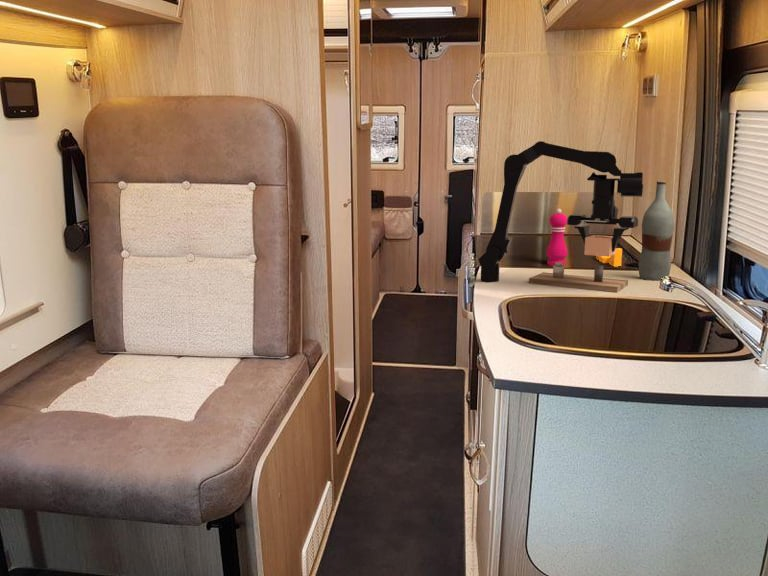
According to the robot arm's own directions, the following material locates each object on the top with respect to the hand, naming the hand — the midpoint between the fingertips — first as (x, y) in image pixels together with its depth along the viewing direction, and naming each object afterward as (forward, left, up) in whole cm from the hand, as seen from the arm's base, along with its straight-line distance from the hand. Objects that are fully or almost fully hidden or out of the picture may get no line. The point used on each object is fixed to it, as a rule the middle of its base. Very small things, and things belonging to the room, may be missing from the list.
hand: (600, 250), depth 181 cm
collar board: (0, +6, -11) cm, 12 cm away
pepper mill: (+30, +23, -11) cm, 39 cm away
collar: (0, 0, -1) cm, 1 cm away
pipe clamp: (+42, +8, -11) cm, 44 cm away
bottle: (+22, -11, -11) cm, 27 cm away
